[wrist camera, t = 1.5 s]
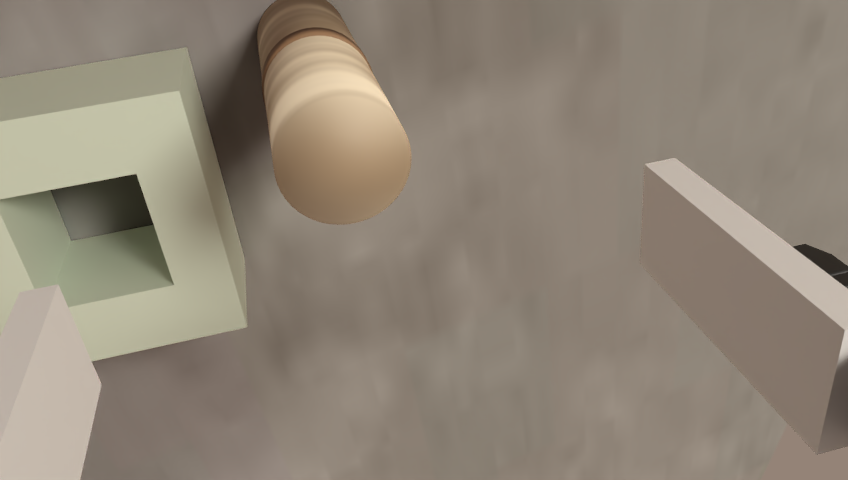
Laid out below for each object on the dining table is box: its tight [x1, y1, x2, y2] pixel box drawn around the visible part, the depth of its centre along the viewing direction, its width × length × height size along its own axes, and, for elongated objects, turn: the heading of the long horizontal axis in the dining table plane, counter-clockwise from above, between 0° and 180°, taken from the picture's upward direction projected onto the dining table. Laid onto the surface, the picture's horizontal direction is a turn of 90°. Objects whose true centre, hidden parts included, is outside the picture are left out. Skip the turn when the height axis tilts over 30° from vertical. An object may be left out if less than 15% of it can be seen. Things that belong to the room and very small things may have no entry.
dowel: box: [257, 0, 411, 225], centre depth 28 cm, size 4×4×14 cm
